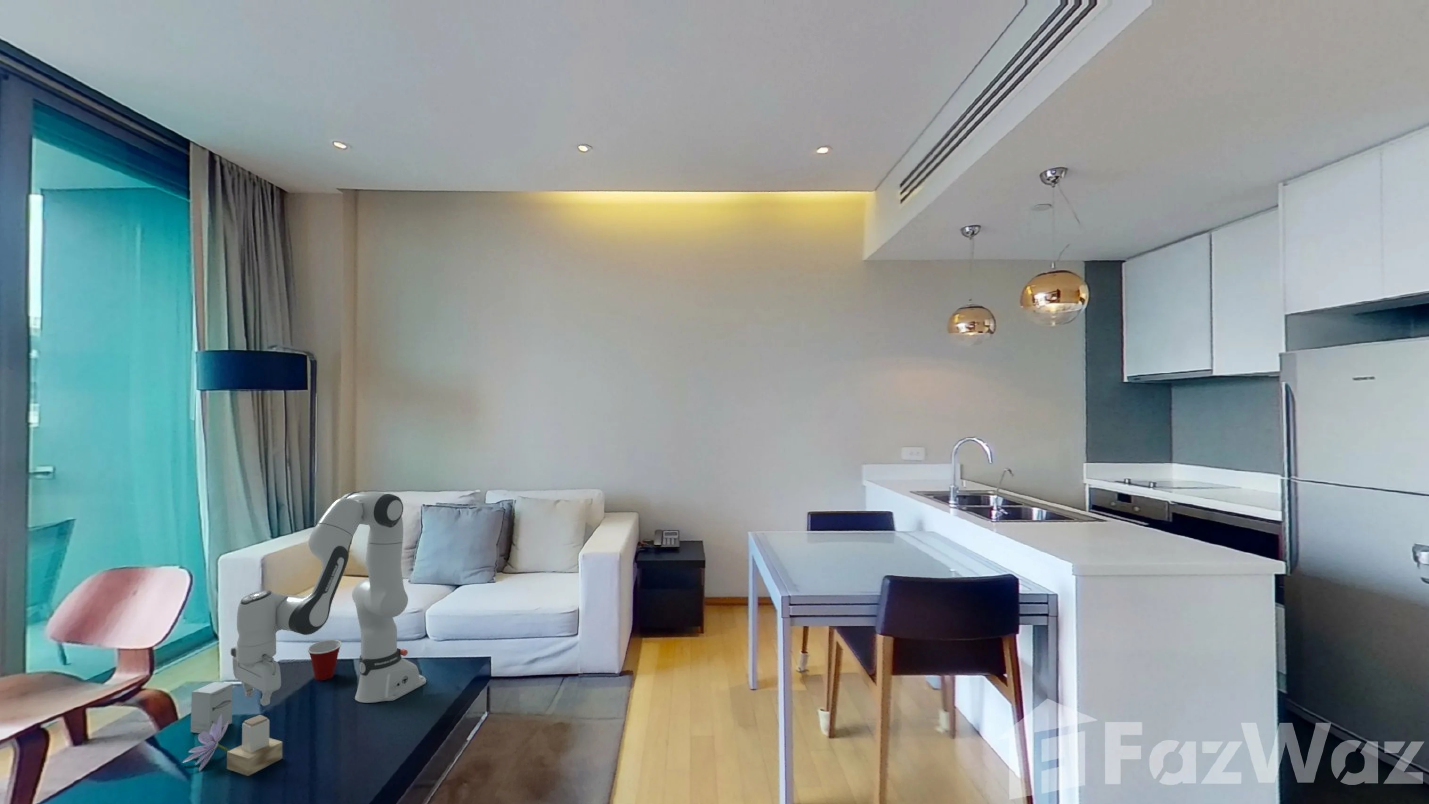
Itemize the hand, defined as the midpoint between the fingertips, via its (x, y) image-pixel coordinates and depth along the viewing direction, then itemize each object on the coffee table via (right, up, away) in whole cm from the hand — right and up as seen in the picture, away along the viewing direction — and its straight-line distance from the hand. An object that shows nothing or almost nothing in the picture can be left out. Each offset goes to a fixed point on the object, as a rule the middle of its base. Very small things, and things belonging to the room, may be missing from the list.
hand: (257, 700), depth 171 cm
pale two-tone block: (0, -13, 0) cm, 13 cm away
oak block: (0, -18, 0) cm, 18 cm away
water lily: (-16, -18, +2) cm, 24 cm away
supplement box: (-28, -18, +19) cm, 38 cm away
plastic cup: (-16, -19, +55) cm, 60 cm away
